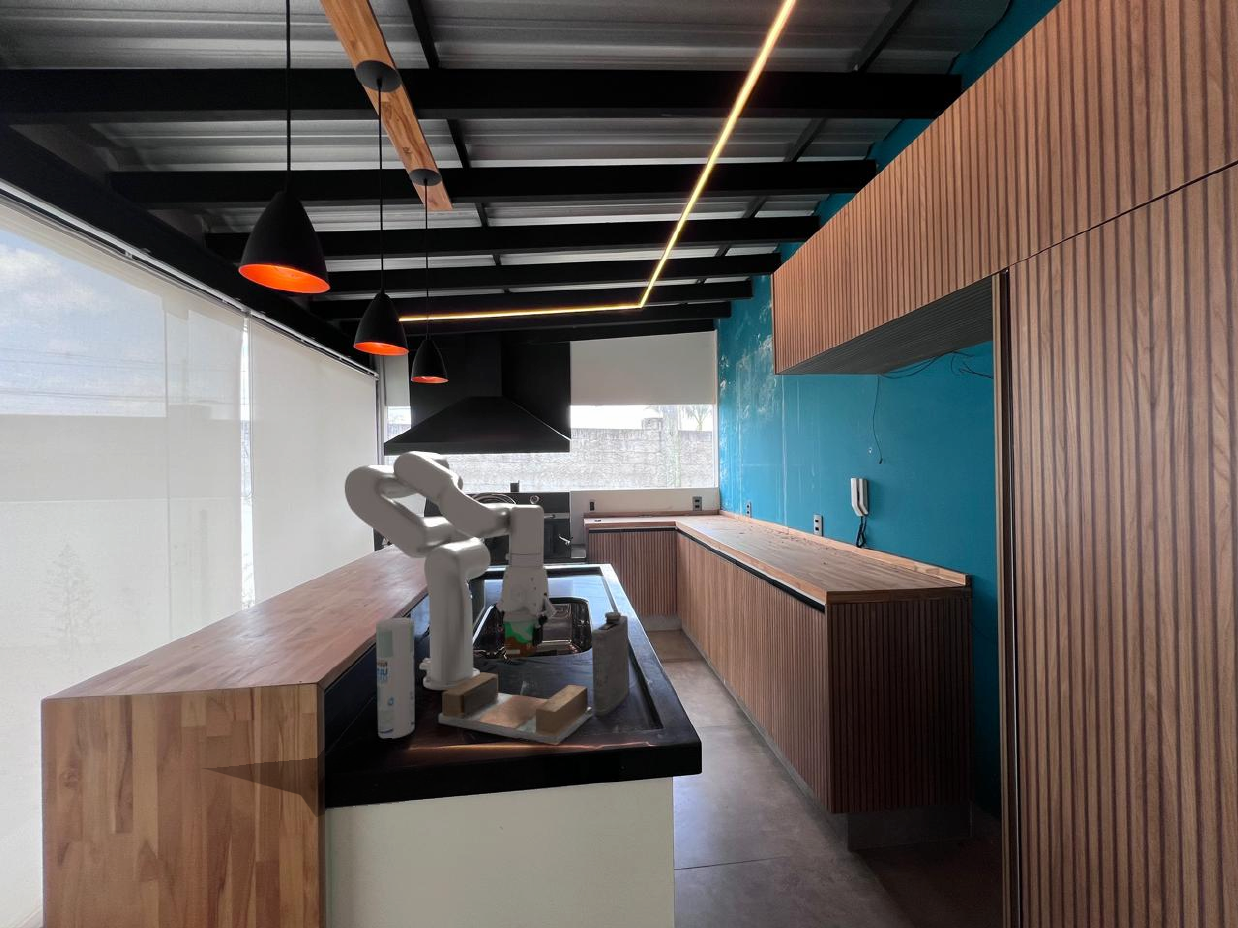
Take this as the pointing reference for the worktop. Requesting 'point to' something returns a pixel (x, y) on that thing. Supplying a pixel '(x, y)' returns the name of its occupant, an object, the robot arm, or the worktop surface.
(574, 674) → the worktop surface
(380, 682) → the spray can
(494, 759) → the worktop surface
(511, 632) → the food container
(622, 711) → the worktop surface
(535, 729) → the wooden u-shaped base
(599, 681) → the flask
